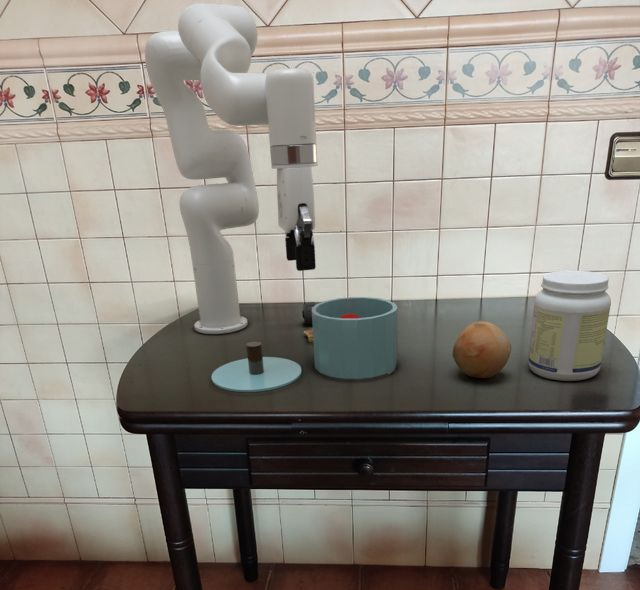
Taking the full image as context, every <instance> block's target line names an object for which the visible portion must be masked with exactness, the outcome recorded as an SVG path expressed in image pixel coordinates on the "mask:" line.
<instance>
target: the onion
mask: <svg viewBox="0 0 640 590" xmlns="http://www.w3.org/2000/svg"><path fill="white" fill-rule="evenodd" d="M511 353H512V344H511V341H510V340H509V338H508V336H507V335H506V333H505V332H504V331H503V330H502V329H501V328H500V327H499V326H497V325H495V324H494V323H491V322H488V321H484V320H478V321H475V322H472V323H471V324H469V325H467V326H466V327H465V328H464V329H463V330H462V331H461V332H460V333H459V335H458V336H457V337H456V339H455V342H454V345H453V347H452V358H453V360H454V362H455V364H456V366H457V367H458V369H459V370H460V371H461V372H462V373H463V374H465V375H466V376H468V377H472V378H476V379H477V378H478V379H490V378H492V377H494V376H495V375H498V373H499V372H501V371H502V370H503V369H504V368H505V366H506V365H507V363H508V361H509V359H510V357H511Z"/></svg>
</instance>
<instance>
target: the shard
mask: <svg viewBox="0 0 640 590" xmlns="http://www.w3.org/2000/svg"><path fill="white" fill-rule="evenodd" d="M303 334H304V335H305V336H306V337H307V341H308V342H309V343H314V341H313V328H311V329H307V330H303Z"/></svg>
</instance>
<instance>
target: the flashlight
mask: <svg viewBox="0 0 640 590" xmlns="http://www.w3.org/2000/svg"><path fill="white" fill-rule="evenodd" d="M318 303H319V302H315V301H310V302H306V303H303V304H302V307H303V310H302V311H301V313H302V314H301V315H302V319H303V321H304V325H307V326H313V323H312V307H314V306H315V305H316V304H318Z"/></svg>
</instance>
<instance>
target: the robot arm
mask: <svg viewBox="0 0 640 590" xmlns="http://www.w3.org/2000/svg"><path fill="white" fill-rule="evenodd" d="M177 21H178V23H177V30H163V31H159V32H156V33H154V34H152V35H151V36H149V37H148V38H147V41H146V43H145V48H144V59H145V60H144V61H145V68H146V72H147V76H148V79H149V82H150V85H151V87H152V89H153V92H154V94H155V97H156V98H157V101H158V102H159V104H160V107H161V109H162V111H163V113H164V117H165V121H166V125H167V129H168V132H169V133H168V134H169V138H170V142H171V148H172V151H173V155H174V159H175V164H176V166H177V169H178V171H179V174H180V175H181V176H182V177H183V178H184V179H187V180H194V181H195V180H210V179H211V180H213V179H220V178H221V179H223V178H225V180H226V182H224V183H223V182H222V183H208V184H199V185H194V186H191V187H189V188H187V189H185V190H184V191H183V192H182V193H181V195H180V197H179V202H178V203H179V211H180V215H181V218H182V221H183V225H184V228H185V232H186V236H187V240H188V246H189V251H190V258H191V265H192V273H193V279H194V286H195V293H196V300H197V307H198V314H199V320H197V321H195V323H194V325H193V326H194V327H193V328H194V331H196V332H198V333H200V334H204V335H223V334H231V333H235V332H238V331H241V330H243V329H244V328H246V327H247V326H248V324H249V323H248V319H247V318H246V317H245V316H243V315H242V316H241V311H240V300H239V292H238V284H237V273H236V264H235V263H236V262H235V256H234V249H233V247H232V245H231V243H230V242H229V240H227V239H226V238H225V237H224V235H223V234H222V233H221V231H223V230H228V229H235V228H243V227H247V226H251V225H253V224H254V223H256V221H257V220H258V218H259V213H260V205H259V204H260V203H259V198H258V192H257V187H256V182H255V178H254V172H253V168H252V162H251V158H250V154H249V150H248V147H247V145H246V142H245V140H244V139H243V137H242V136H241V135H240V134H239V133H238V132H237V131H235V130H230V129H217V130H215V129H214V130H212V129H211V128H210V126H209V123H208V118H207V114H206V107H204V104H203V102H202V101H201V99H200V98H199V97H198V96H197V95H196V93H195V92H194V91H193V90H192V89H191V88H190V87H189V86H188V85H187V84H186V83H185V81H200V86H201V90H202V94H203V97H204V100H205V102H206V104H207V105H208V107H209V108H210V109H211V110H212V112H213V113H214V114H215V115H216V116H217V117H218V118H219V120H221V121H222V122H223V123H226V124H227V125H229V126H235V127H240V126H241V127H243V126H261V125H262V126H268V139H269V140H268V141H269V149H270V151H269V152H270V163H271V164H270V165H271V169H276V197H277V198H276V199H277V200H276V201H277V220H278V222H277V223H278V227H279V228H280V229H282V231H284V235H285V237H284V239H285V240H284V241H285V253H286V260H287V261H290V262H291V261H295V269H296V270H297V271H298V272H303V271H313V270H315V269H316V267H317V266H316V249H315V239H314V230H315V228H316V208H315V192H314V190H315V189H314V179H313V171H312V168H315V167H318V152H317V150H318V147H317V130H316V129H317V127H316V105H315V83H314V77H313V74H312V73H311V72H310V71H309V70H308V69H306V68H301V67H300V68H299V67H291V68H289V67H287V68H278V69H273V70H271V71H269V72H249V70H250V67H251V65H252V64H251V63H252V56H253V55H254V52H256V48H257V45H258V28H257V24H256V21H255V19H254V16H253V15H252V13H251V12H250V11H249V10H248V9H247V8H244V6H241V5H237V4H221V3H207V2H203V3H202V2H198V3H194V4H190V5H188V6H187V7H186V8H184V10H183V11H182V12H181V13H180V16H179V17H178V20H177Z"/></svg>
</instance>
